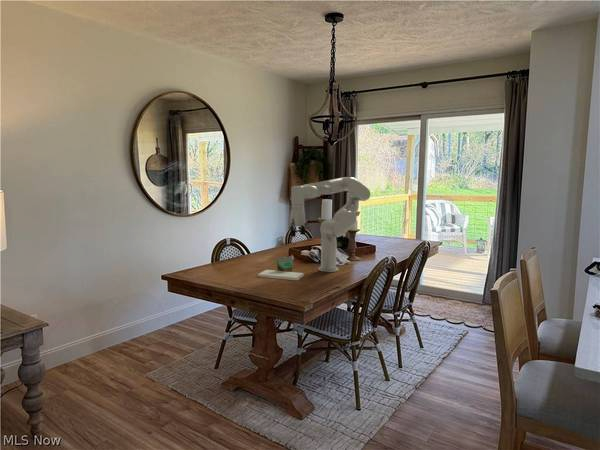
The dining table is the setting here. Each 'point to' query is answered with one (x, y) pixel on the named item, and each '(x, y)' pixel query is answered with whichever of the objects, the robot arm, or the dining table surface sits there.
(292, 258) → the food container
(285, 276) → the cutting board
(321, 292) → the dining table surface
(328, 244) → the robot arm
